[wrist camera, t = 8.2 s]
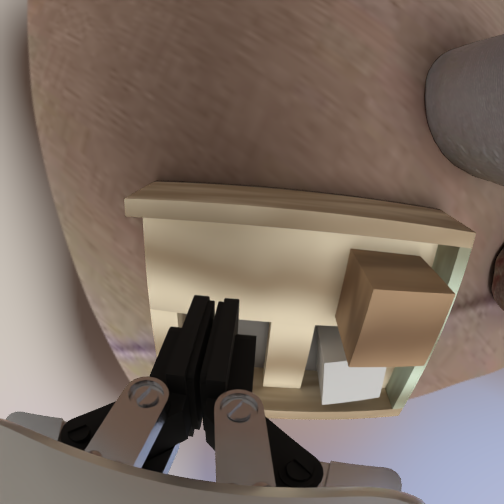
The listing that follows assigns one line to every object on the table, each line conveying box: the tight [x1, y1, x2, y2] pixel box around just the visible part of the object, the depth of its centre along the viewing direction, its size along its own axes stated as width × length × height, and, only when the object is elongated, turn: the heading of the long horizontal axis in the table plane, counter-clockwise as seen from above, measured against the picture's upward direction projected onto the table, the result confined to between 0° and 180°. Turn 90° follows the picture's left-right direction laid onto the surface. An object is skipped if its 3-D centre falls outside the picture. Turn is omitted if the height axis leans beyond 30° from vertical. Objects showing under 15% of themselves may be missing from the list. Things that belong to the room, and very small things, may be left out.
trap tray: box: [124, 181, 476, 419], centre depth 21 cm, size 16×20×5 cm
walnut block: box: [335, 249, 455, 367], centre depth 17 cm, size 5×5×5 cm
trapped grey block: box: [316, 325, 386, 405], centre depth 22 cm, size 4×4×4 cm
